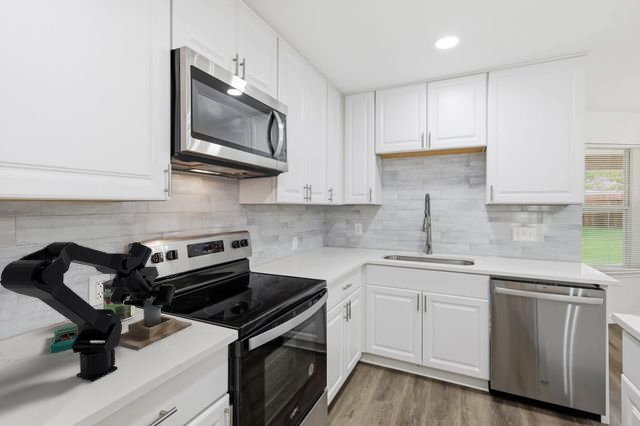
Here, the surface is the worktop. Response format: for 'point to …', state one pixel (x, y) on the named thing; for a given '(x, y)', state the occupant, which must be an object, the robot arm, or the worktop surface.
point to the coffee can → (119, 309)
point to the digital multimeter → (63, 339)
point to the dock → (150, 332)
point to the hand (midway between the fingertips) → (154, 306)
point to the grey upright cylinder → (151, 313)
